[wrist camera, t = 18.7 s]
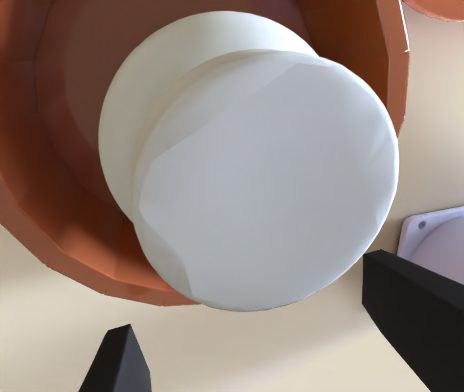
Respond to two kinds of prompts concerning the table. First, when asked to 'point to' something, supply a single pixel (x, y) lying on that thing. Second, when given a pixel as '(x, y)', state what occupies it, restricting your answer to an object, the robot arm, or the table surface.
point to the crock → (91, 102)
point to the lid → (440, 9)
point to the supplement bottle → (246, 160)
